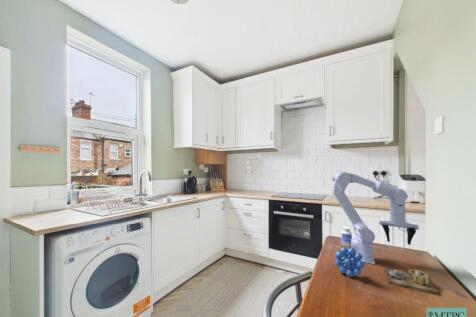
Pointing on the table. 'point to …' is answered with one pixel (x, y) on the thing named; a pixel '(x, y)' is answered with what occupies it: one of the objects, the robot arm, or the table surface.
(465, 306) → the table surface
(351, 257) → the grapes
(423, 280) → the gear
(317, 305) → the table surface
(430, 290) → the gear board
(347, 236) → the pill bottle
